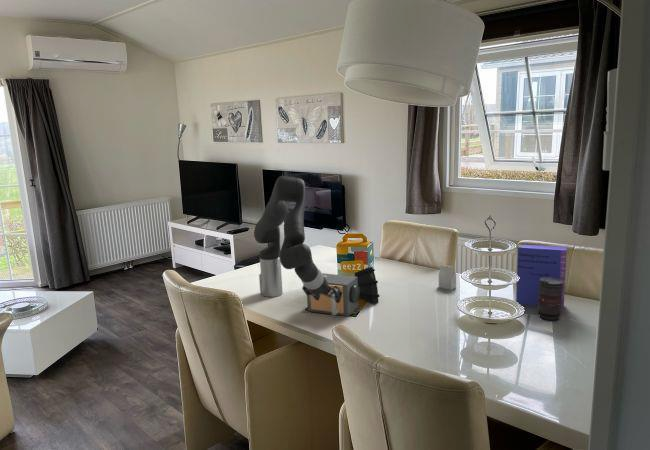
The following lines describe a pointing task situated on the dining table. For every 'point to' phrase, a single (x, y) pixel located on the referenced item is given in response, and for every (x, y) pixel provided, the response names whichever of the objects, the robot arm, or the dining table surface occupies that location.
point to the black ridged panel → (367, 285)
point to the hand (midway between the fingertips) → (328, 299)
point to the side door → (327, 303)
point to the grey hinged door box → (349, 292)
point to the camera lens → (550, 299)
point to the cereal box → (538, 270)
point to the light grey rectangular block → (447, 277)
